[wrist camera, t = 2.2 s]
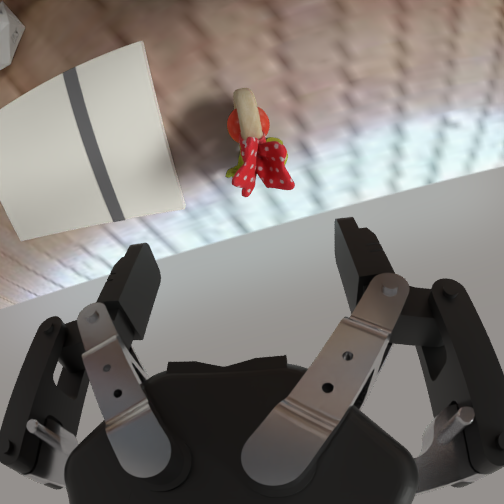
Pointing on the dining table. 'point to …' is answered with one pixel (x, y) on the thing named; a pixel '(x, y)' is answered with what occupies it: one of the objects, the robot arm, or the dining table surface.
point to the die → (8, 34)
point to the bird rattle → (255, 147)
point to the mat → (87, 149)
